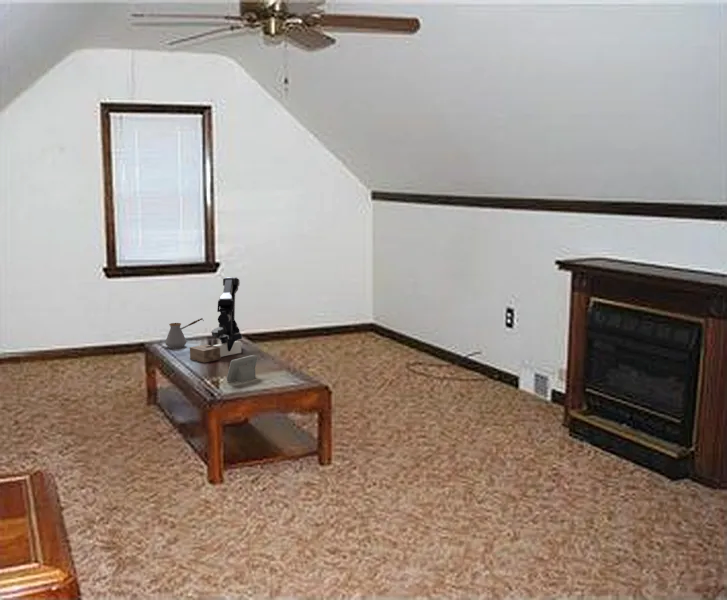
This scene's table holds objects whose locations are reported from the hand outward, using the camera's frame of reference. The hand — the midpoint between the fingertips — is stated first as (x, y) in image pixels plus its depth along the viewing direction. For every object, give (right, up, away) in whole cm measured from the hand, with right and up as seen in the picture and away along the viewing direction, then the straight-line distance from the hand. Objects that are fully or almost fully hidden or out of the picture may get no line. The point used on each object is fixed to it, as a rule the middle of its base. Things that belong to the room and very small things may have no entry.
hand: (227, 350), depth 416 cm
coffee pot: (-27, +1, +21) cm, 34 cm away
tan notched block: (-10, -4, -10) cm, 14 cm away
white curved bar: (-1, -2, -1) cm, 3 cm away
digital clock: (+16, -10, -50) cm, 53 cm away
